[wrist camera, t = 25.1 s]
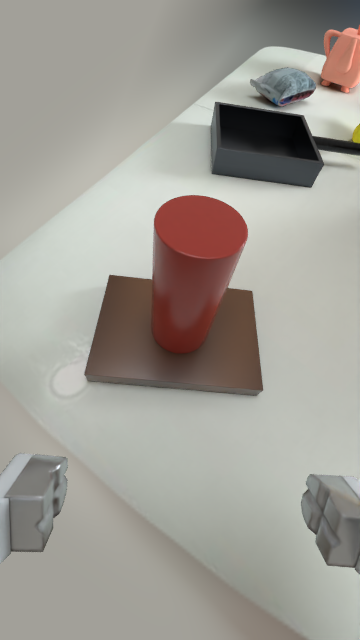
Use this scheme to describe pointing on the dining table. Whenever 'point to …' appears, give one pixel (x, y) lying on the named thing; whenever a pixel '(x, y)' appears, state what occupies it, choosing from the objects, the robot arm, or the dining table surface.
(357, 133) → the banana
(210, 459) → the dining table surface
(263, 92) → the packaged food
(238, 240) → the red cylinder
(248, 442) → the dining table surface
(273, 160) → the steel pan
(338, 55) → the teapot
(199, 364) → the walnut board
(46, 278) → the dining table surface
